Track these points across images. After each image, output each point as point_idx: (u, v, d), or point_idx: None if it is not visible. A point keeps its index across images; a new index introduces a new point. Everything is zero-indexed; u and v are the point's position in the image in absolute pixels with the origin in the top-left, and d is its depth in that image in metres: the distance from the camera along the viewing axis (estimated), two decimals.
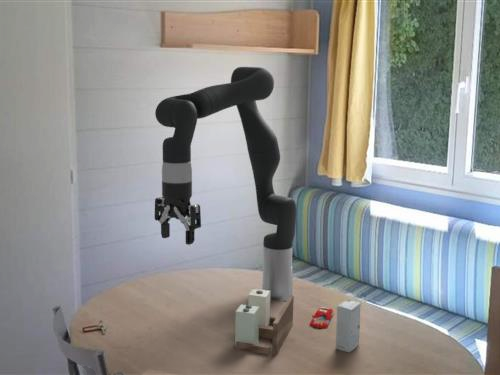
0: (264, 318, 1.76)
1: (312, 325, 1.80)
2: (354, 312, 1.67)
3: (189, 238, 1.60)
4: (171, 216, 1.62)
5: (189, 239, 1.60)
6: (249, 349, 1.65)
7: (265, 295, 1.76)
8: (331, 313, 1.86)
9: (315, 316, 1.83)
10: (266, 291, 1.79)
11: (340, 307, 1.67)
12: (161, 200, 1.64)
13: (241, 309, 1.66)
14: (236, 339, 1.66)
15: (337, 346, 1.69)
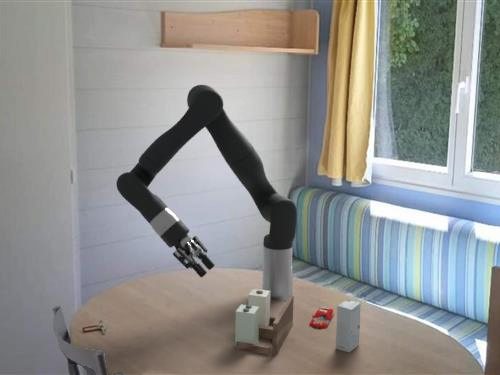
0: (264, 318, 1.76)
1: (312, 325, 1.80)
2: (354, 312, 1.67)
3: None
4: None
5: None
6: (249, 349, 1.65)
7: (265, 295, 1.76)
8: (331, 313, 1.86)
9: (315, 316, 1.83)
10: (266, 291, 1.79)
11: (340, 307, 1.67)
12: None
13: (241, 309, 1.66)
14: (236, 339, 1.66)
15: (337, 346, 1.69)
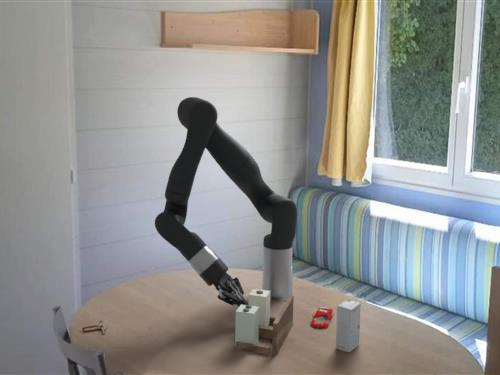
0: (264, 318, 1.76)
1: (313, 325, 1.80)
2: (354, 312, 1.67)
3: None
4: None
5: None
6: (249, 349, 1.65)
7: (265, 295, 1.76)
8: (331, 313, 1.86)
9: (315, 316, 1.83)
10: (266, 291, 1.79)
11: (340, 307, 1.67)
12: None
13: (241, 309, 1.66)
14: (236, 339, 1.66)
15: (337, 346, 1.69)
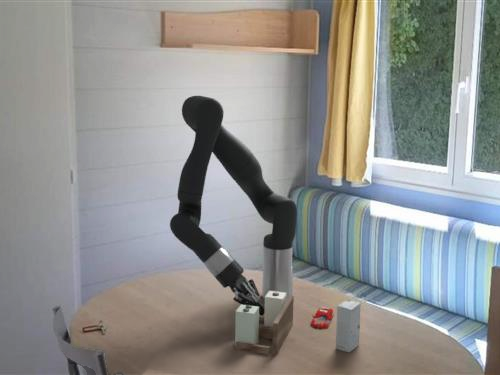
0: None
1: (313, 325, 1.80)
2: (354, 312, 1.67)
3: None
4: None
5: None
6: (249, 349, 1.65)
7: (281, 297, 1.74)
8: (331, 313, 1.86)
9: (316, 316, 1.83)
10: (282, 293, 1.77)
11: (340, 307, 1.67)
12: None
13: (241, 309, 1.66)
14: (236, 339, 1.66)
15: (337, 346, 1.69)
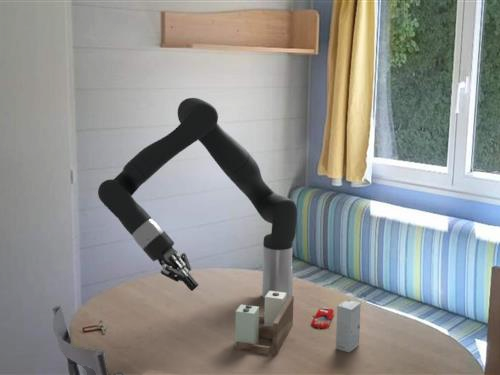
0: None
1: (313, 325, 1.80)
2: (354, 312, 1.67)
3: None
4: None
5: None
6: (249, 349, 1.65)
7: (281, 297, 1.74)
8: (332, 313, 1.86)
9: (316, 316, 1.83)
10: (282, 293, 1.77)
11: (340, 307, 1.67)
12: None
13: (241, 309, 1.66)
14: (236, 339, 1.66)
15: (337, 346, 1.69)
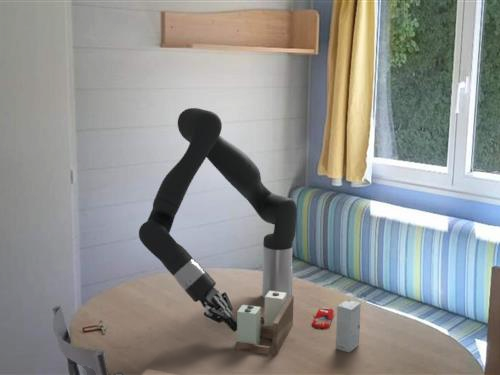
0: None
1: (314, 325, 1.79)
2: (354, 312, 1.67)
3: None
4: None
5: None
6: (249, 349, 1.65)
7: (281, 297, 1.74)
8: (332, 313, 1.86)
9: (316, 316, 1.83)
10: (282, 293, 1.77)
11: (340, 307, 1.67)
12: None
13: (243, 309, 1.66)
14: (237, 339, 1.66)
15: (337, 346, 1.69)
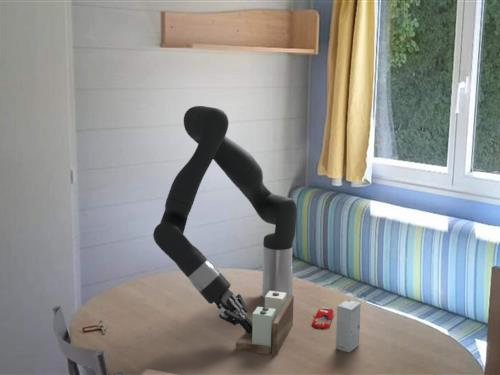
0: None
1: (314, 326, 1.79)
2: (354, 312, 1.67)
3: None
4: None
5: None
6: (249, 349, 1.65)
7: (281, 297, 1.74)
8: (332, 313, 1.86)
9: (316, 317, 1.83)
10: (282, 293, 1.77)
11: (340, 307, 1.67)
12: None
13: (258, 311, 1.65)
14: (253, 341, 1.65)
15: (337, 346, 1.69)
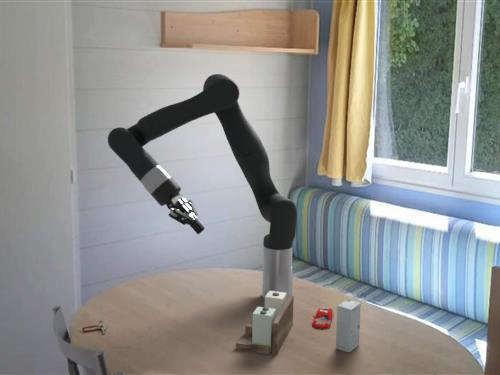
0: None
1: (315, 326, 1.79)
2: (354, 312, 1.67)
3: None
4: None
5: None
6: (249, 349, 1.65)
7: (281, 297, 1.74)
8: (331, 313, 1.86)
9: (317, 317, 1.83)
10: (282, 293, 1.77)
11: (340, 307, 1.67)
12: None
13: (258, 311, 1.65)
14: (253, 341, 1.65)
15: (337, 346, 1.69)
